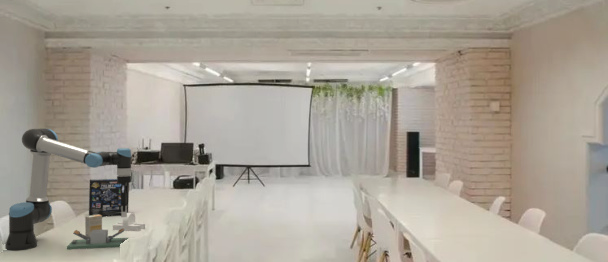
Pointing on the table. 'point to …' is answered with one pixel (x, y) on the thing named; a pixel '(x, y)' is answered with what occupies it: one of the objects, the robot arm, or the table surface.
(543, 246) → the table surface
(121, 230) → the strap
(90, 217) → the supplement box
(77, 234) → the block
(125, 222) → the white slotted holder
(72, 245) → the board
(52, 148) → the robot arm
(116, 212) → the box
